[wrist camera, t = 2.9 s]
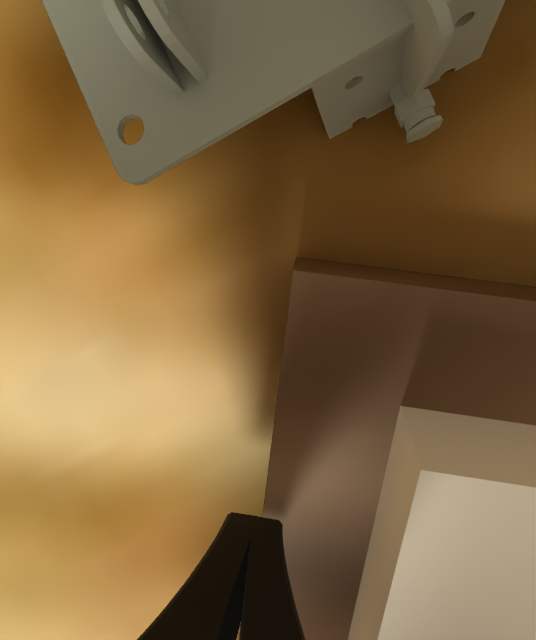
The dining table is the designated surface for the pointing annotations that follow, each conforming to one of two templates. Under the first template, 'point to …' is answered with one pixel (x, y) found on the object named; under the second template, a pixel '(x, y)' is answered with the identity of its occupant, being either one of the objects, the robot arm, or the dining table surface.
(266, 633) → the robot arm
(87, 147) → the dining table surface
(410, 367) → the bench board
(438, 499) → the cream rectangular block
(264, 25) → the metal bracket
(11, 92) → the dining table surface
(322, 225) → the dining table surface
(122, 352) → the dining table surface
